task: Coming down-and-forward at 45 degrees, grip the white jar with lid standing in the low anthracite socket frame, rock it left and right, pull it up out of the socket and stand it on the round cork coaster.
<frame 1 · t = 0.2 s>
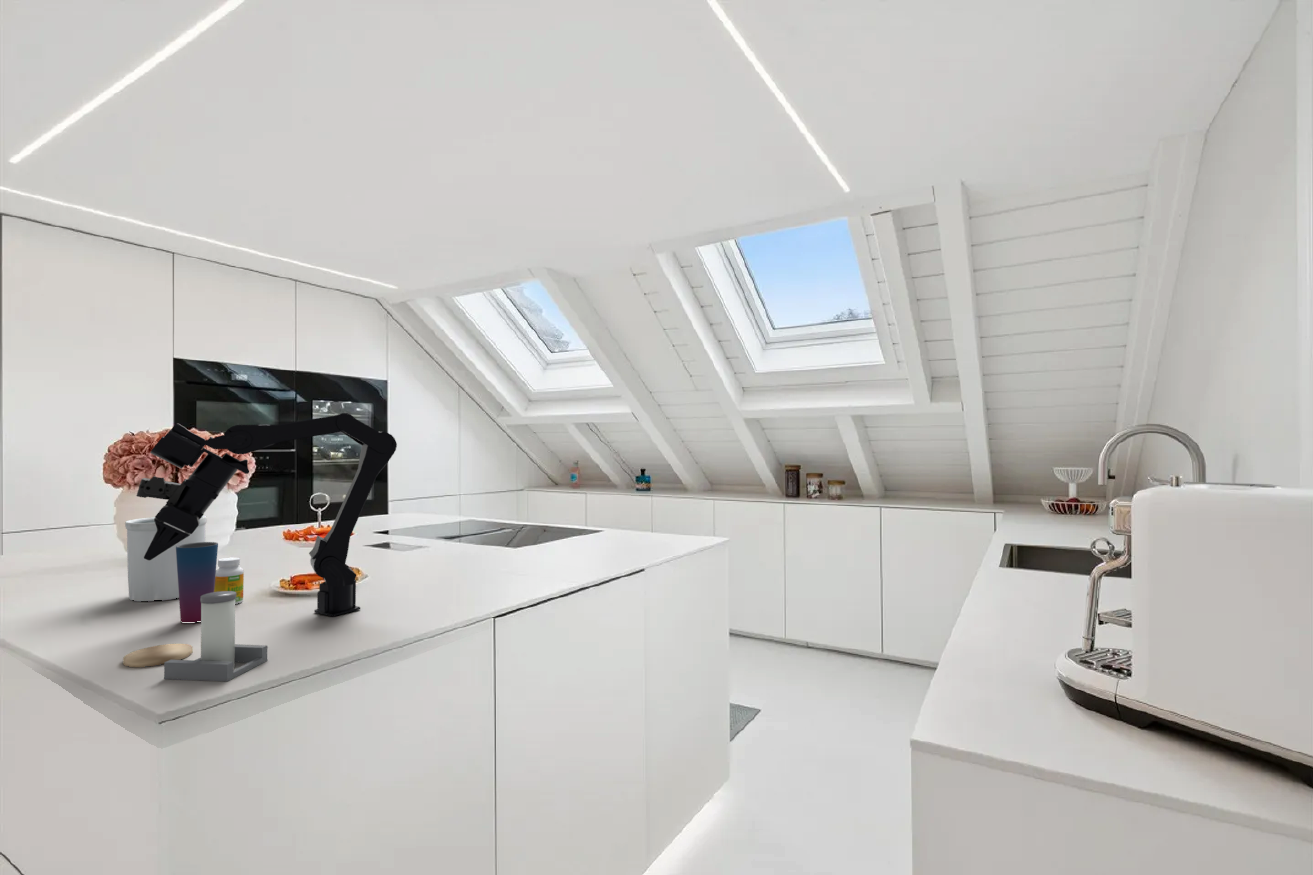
hand: (149, 555, 115), 15 cm above the counter, tool tilted 35°, fingers open, 9 cm apart
cup: (196, 621, 125), on the counter
coaster: (158, 657, 104), on the counter
supplement bottle: (228, 604, 138), on the counter
utensil holder: (166, 595, 144), on the counter
white jar with lid: (217, 669, 99), resting in socket frame
socket frame: (217, 669, 99), on the counter
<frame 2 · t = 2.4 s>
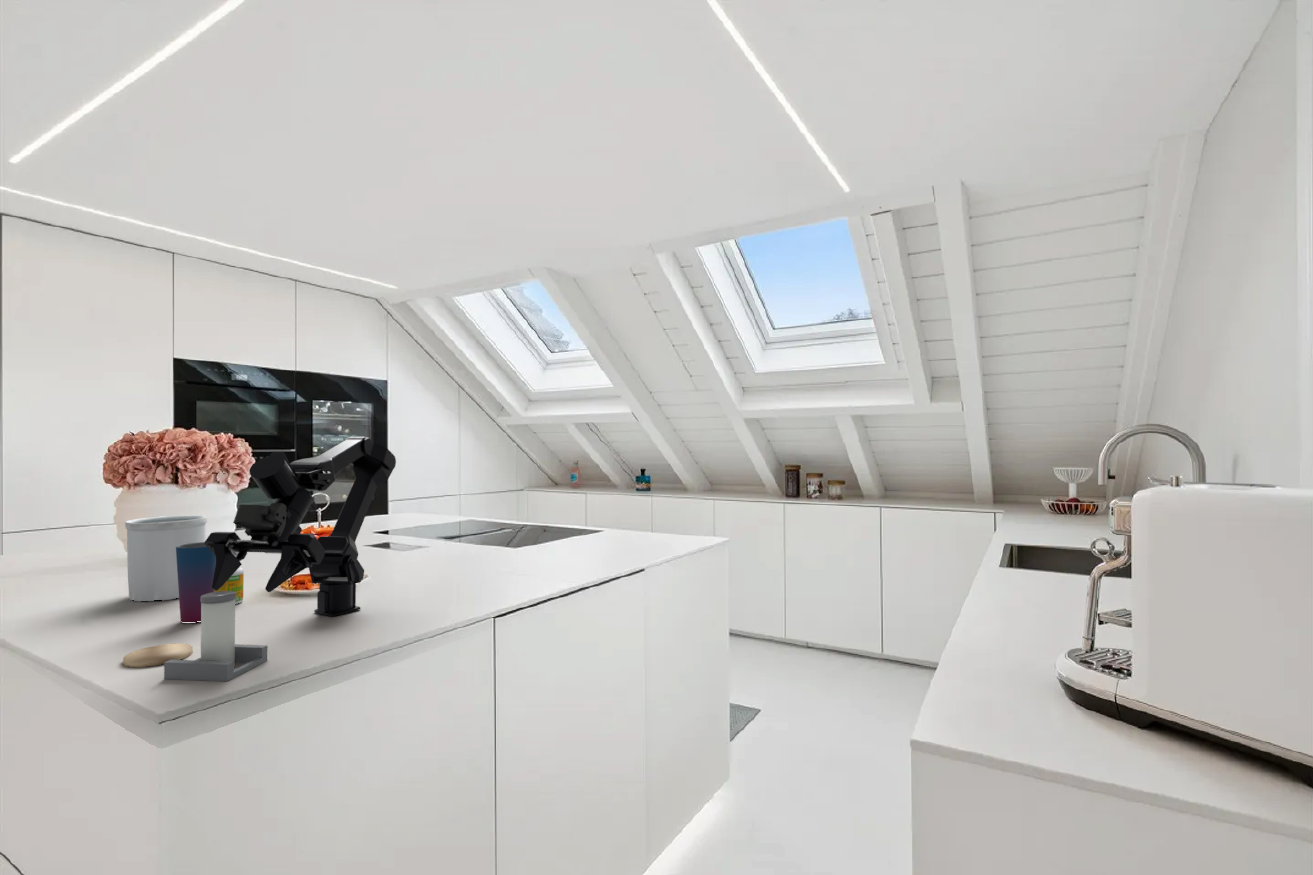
hand: (240, 590, 104), 11 cm above the counter, tool tilted 45°, fingers open, 9 cm apart
nothing on the counter moved.
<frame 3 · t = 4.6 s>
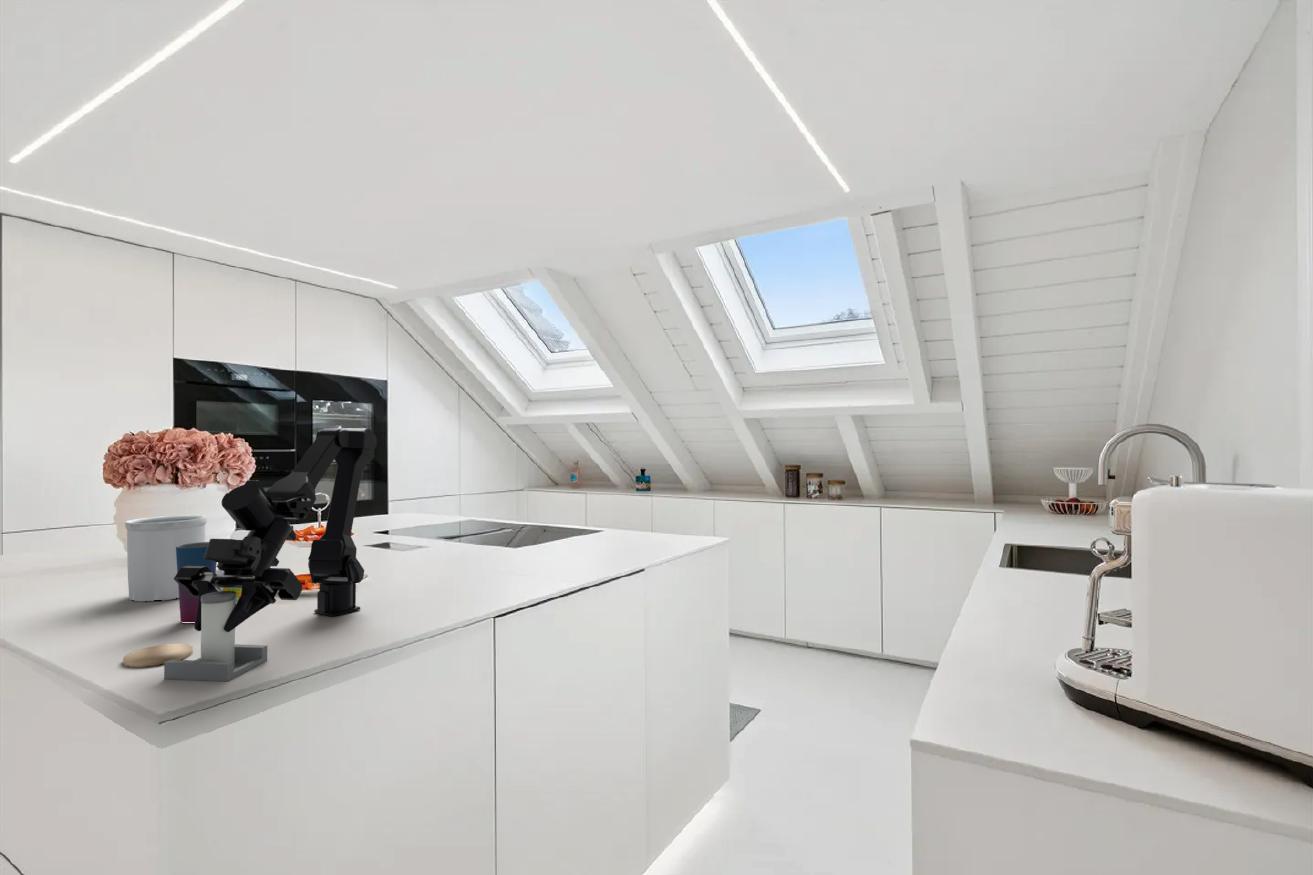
hand: (211, 630, 98), 7 cm above the counter, tool tilted 45°, fingers closed on white jar with lid, 4 cm apart
white jar with lid: (217, 669, 99), resting in socket frame, touching gripper
everything else where it was.
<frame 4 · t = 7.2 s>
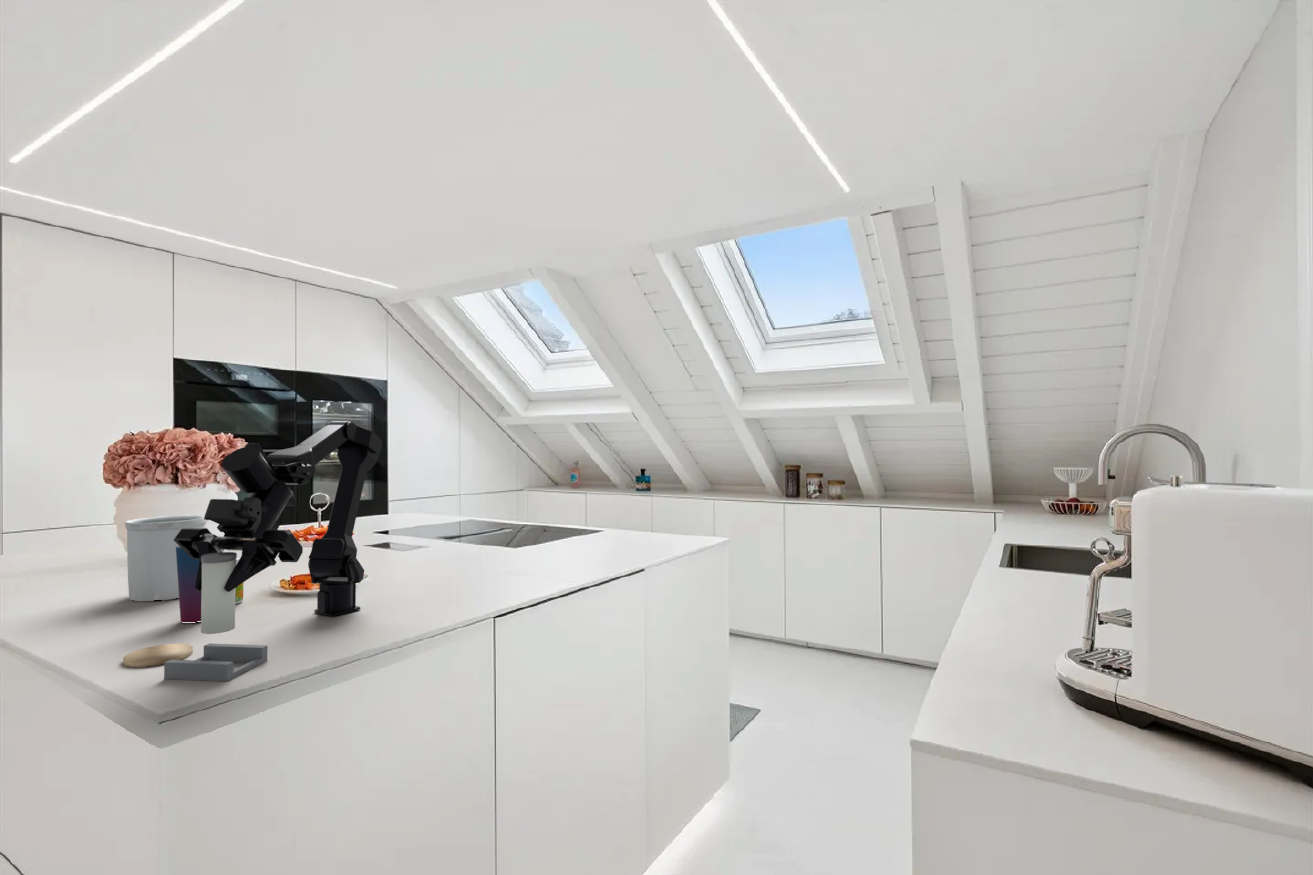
hand: (211, 589, 98), 13 cm above the counter, tool tilted 45°, fingers closed on white jar with lid, 4 cm apart
white jar with lid: (218, 629, 99), point 6 cm above the counter, touching gripper
everything else where it was.
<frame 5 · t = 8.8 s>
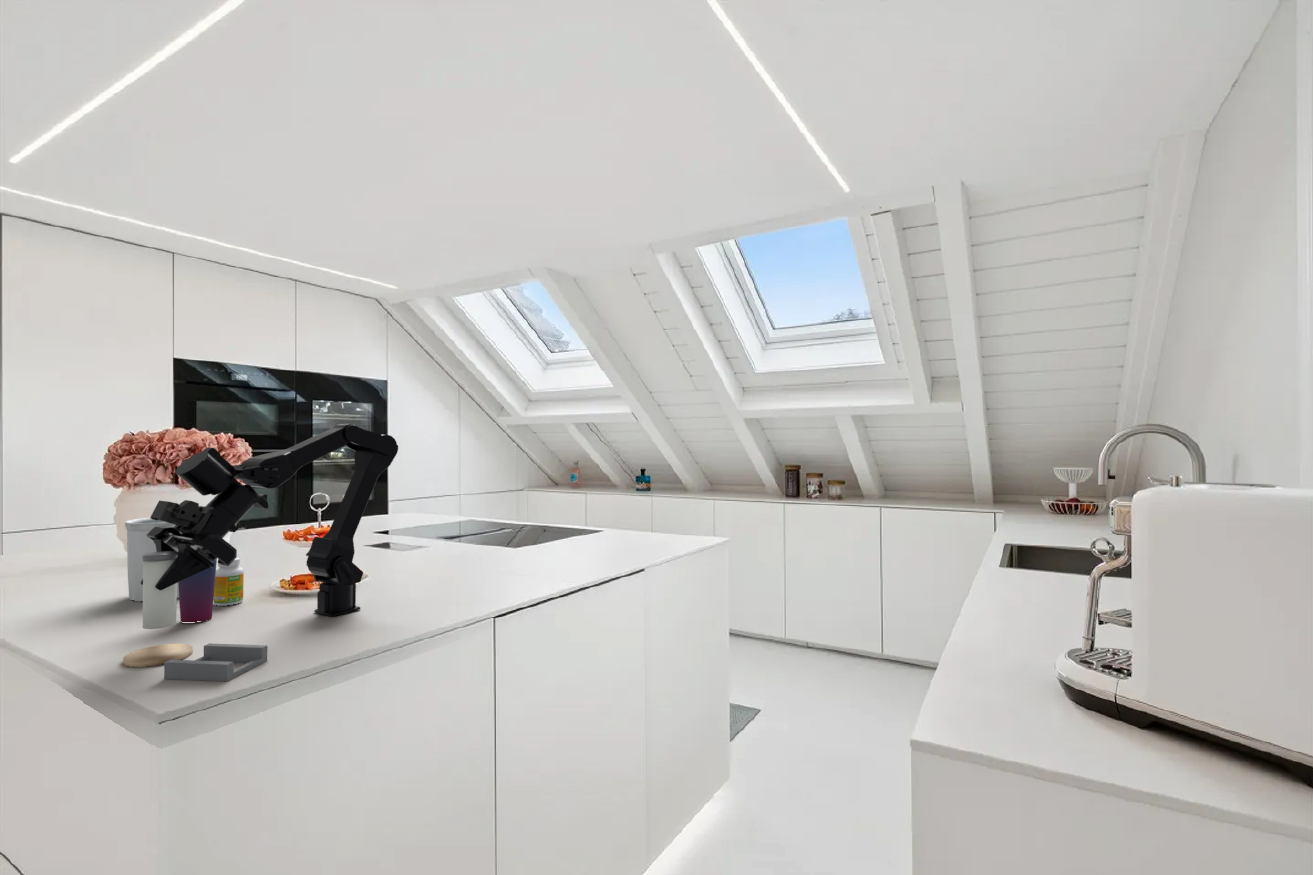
hand: (150, 586, 103), 12 cm above the counter, tool tilted 45°, fingers closed on white jar with lid, 4 cm apart
white jar with lid: (159, 624, 104), point 5 cm above the counter, touching gripper
everything else where it was.
when the fingers open (8 cm above the counter, at t = 9.9 s): white jar with lid stays where it is, resting on coaster.
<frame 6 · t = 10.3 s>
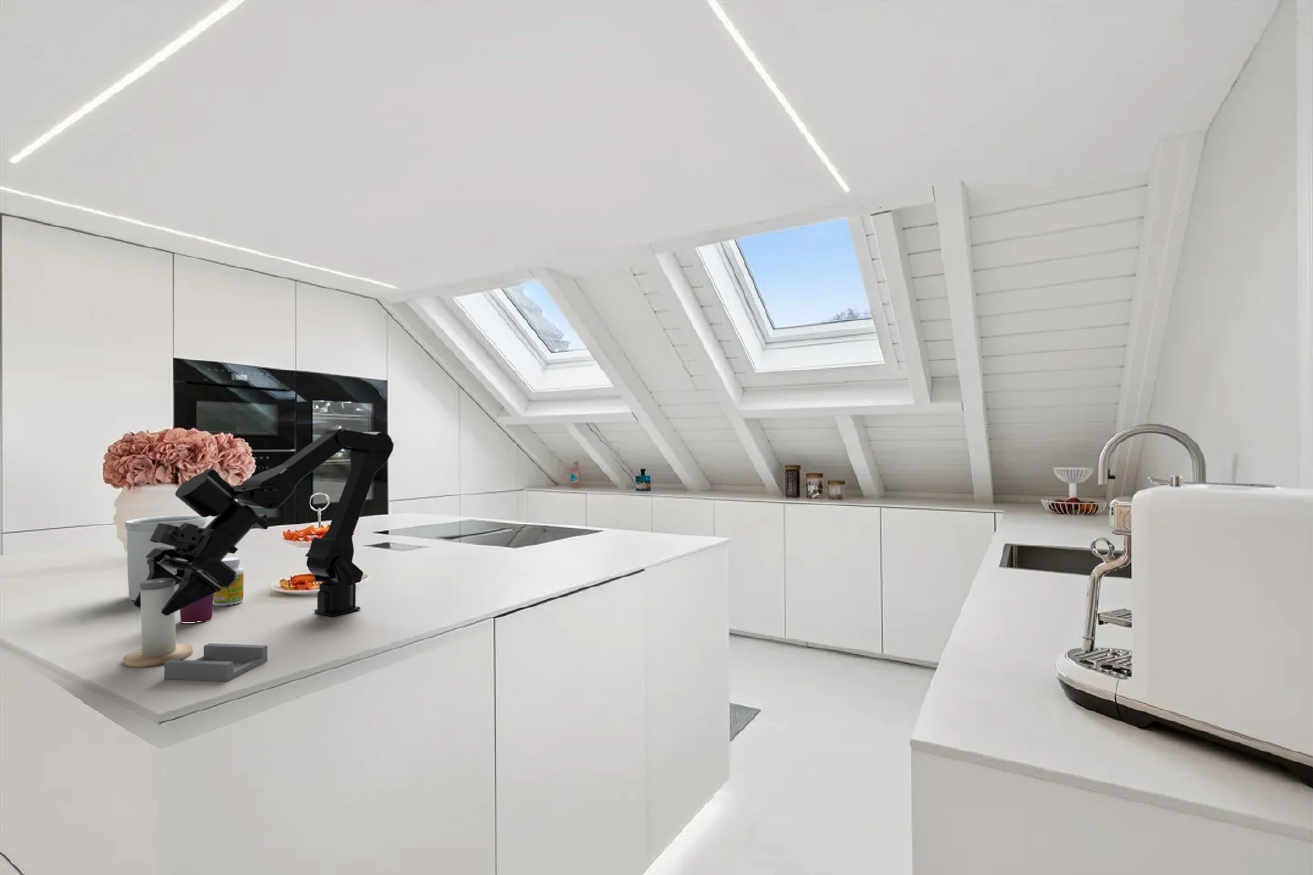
hand: (149, 610, 103), 8 cm above the counter, tool tilted 45°, fingers open, 9 cm apart
white jar with lid: (159, 652, 104), point 1 cm above the counter, touching coaster
everything else where it was.
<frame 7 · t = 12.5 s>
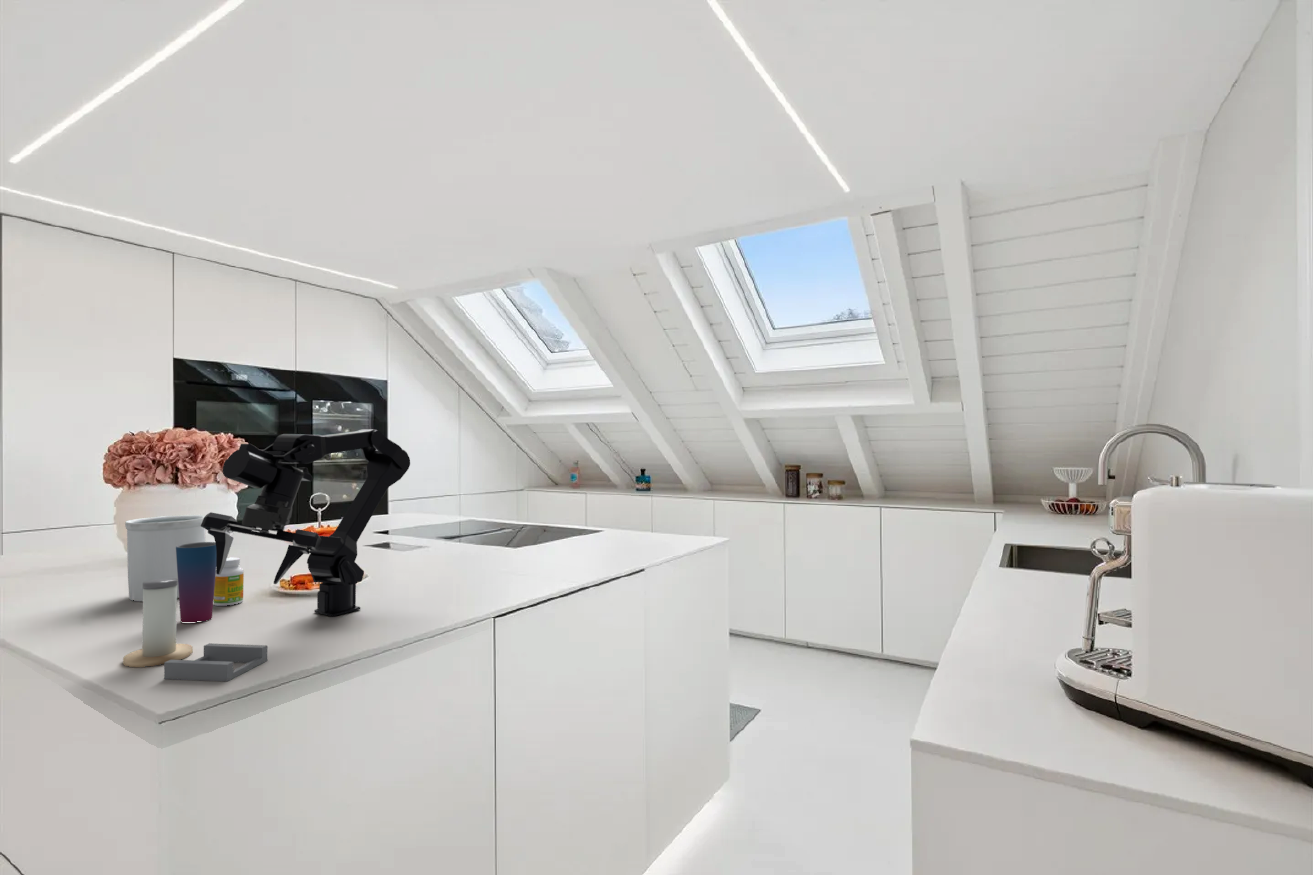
hand: (246, 579, 113), 11 cm above the counter, tool tilted 20°, fingers open, 9 cm apart
nothing on the counter moved.
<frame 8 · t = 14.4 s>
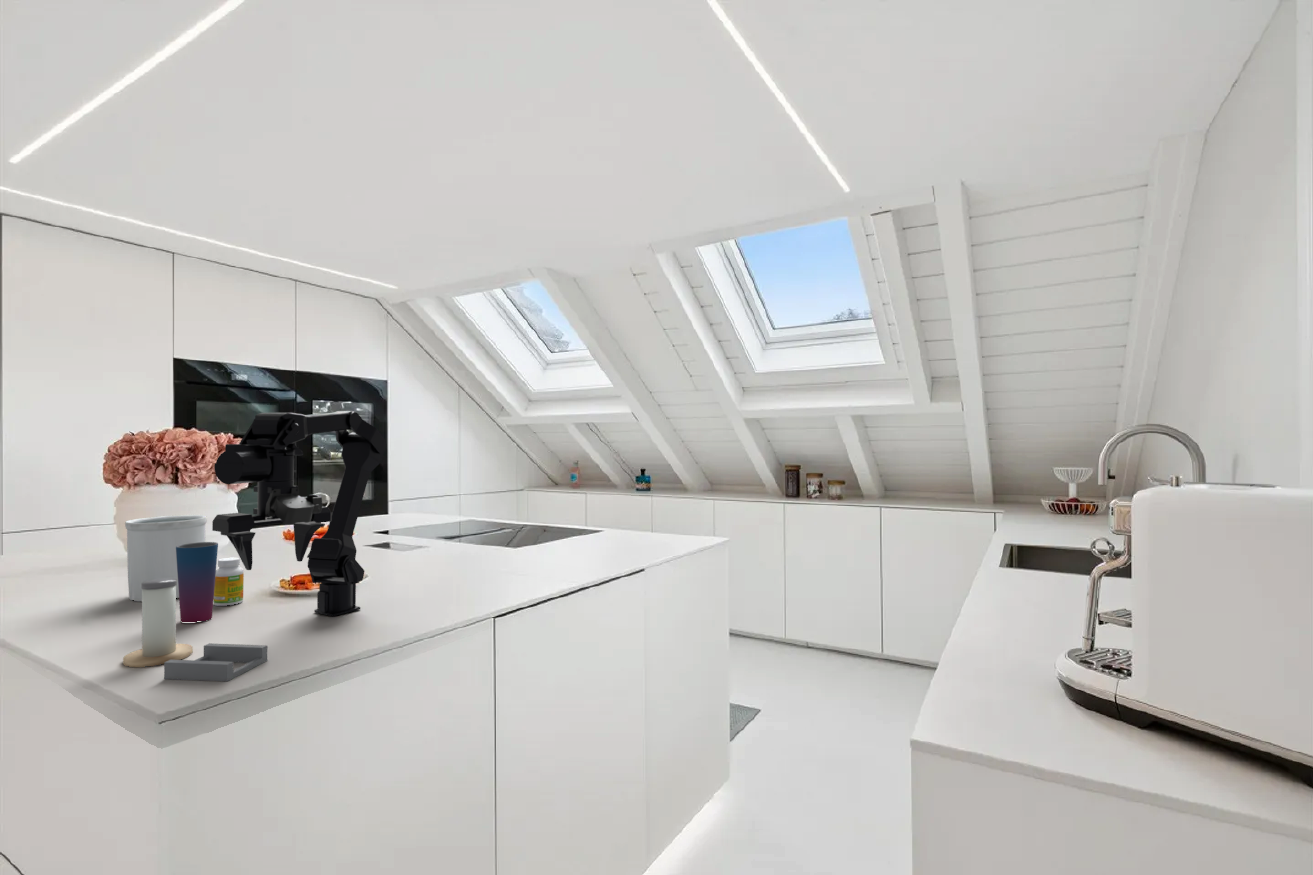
hand: (275, 565, 116), 13 cm above the counter, tool pointing down, fingers open, 9 cm apart
nothing on the counter moved.
at the end: white jar with lid 0.0 cm from the coaster (horizontally); white jar with lid tilted 0°; white jar with lid point 0.8 cm above the counter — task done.
